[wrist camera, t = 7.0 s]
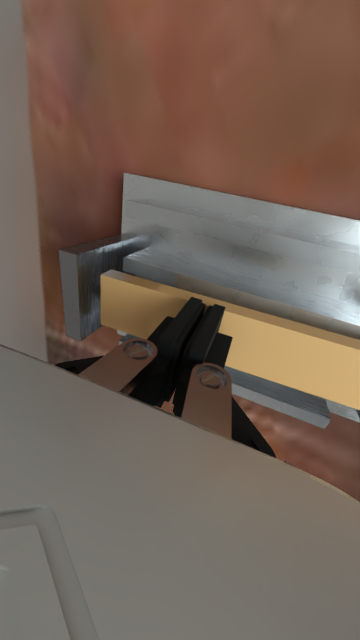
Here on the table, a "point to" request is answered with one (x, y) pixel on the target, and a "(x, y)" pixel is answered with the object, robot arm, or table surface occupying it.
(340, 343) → the tan rectangular bar
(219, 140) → the table surface
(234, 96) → the table surface
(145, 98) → the table surface
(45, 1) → the table surface
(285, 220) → the grey slotted holder
